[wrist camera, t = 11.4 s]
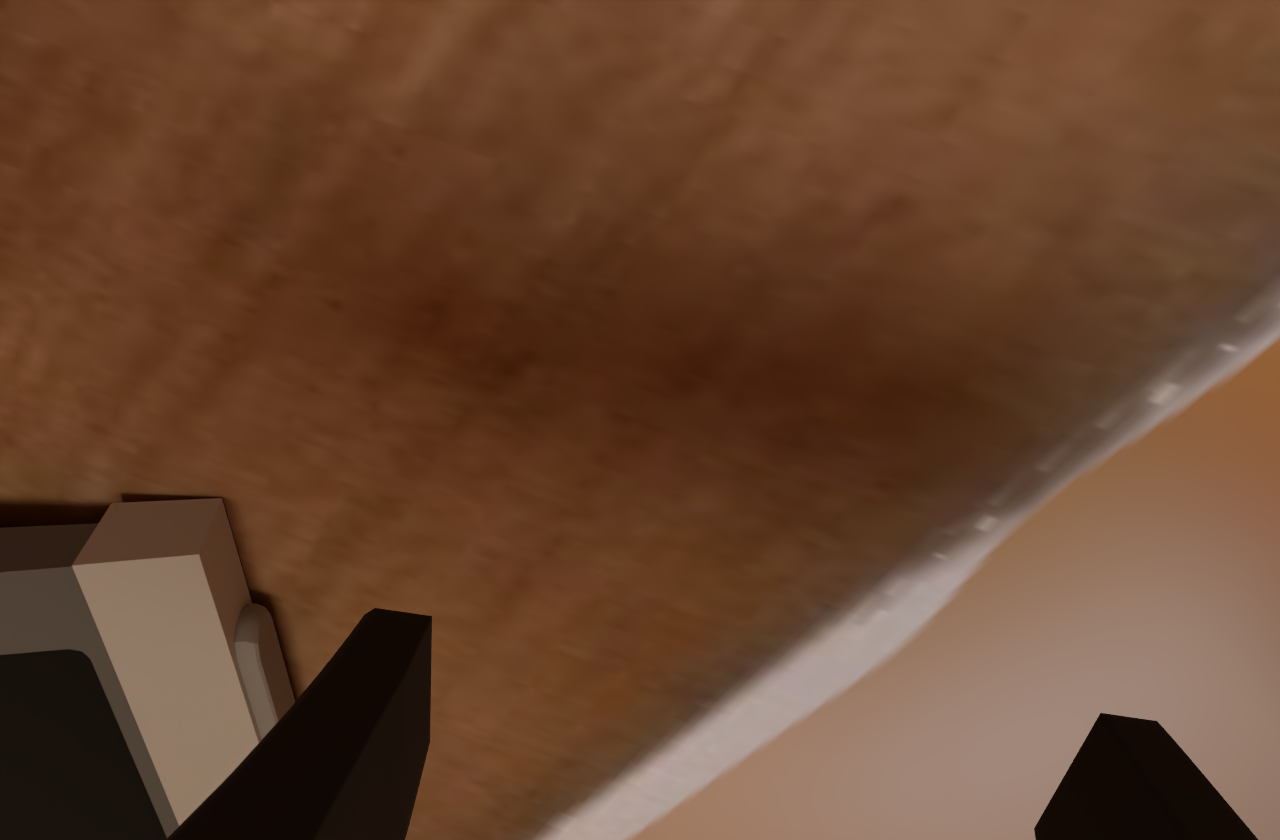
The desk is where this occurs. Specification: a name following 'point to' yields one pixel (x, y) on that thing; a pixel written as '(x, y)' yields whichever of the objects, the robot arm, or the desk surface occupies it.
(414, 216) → the desk surface
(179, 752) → the alarm clock
